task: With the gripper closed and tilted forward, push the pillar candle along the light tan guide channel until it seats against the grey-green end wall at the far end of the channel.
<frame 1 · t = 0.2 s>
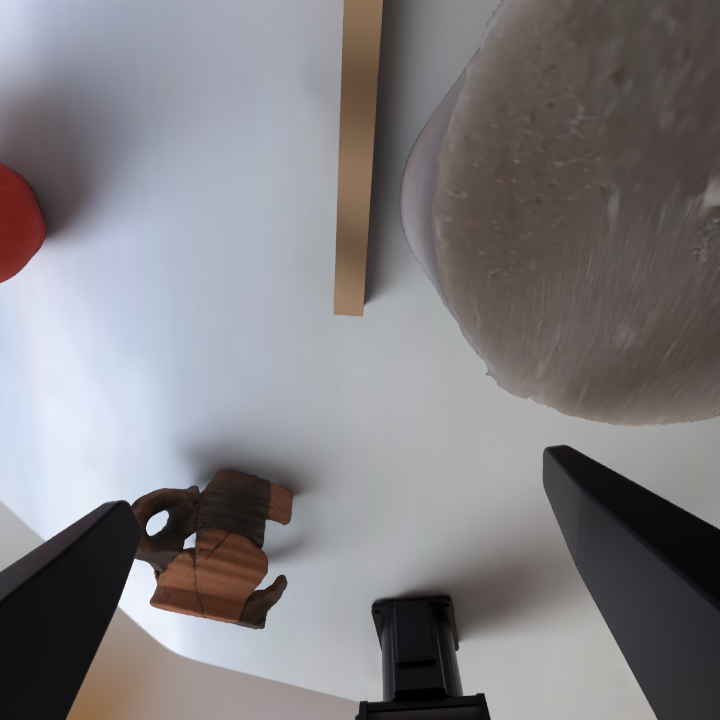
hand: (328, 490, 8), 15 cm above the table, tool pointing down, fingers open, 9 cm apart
pillar candle: (490, 196, 20), on the table
channel: (516, 49, 17), on the table
apple: (24, 206, 20), on the table
pottery mug: (230, 510, 29), on the table
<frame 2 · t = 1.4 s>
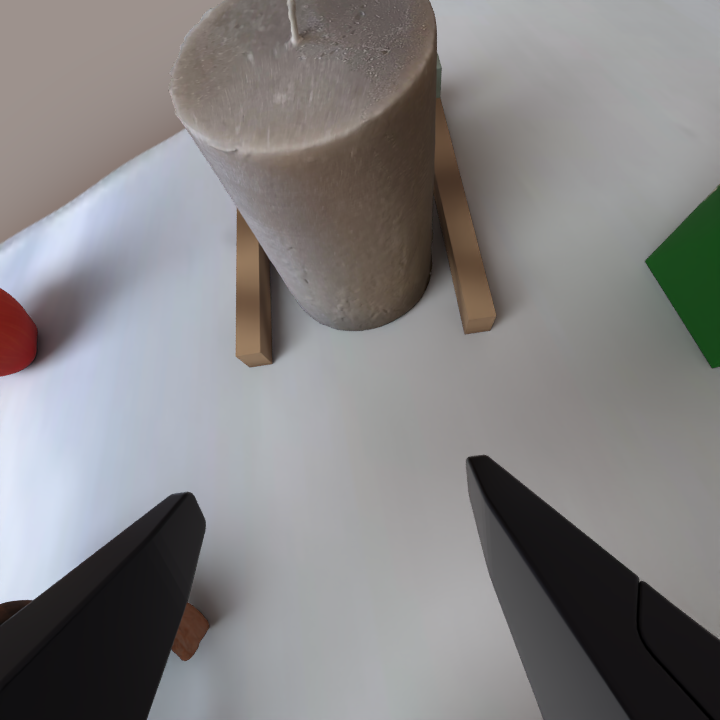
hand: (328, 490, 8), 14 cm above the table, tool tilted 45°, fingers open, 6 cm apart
pillar candle: (357, 268, 26), on the table
channel: (347, 196, 28), on the table
apple: (28, 348, 28), on the table
pottery mug: (124, 679, 20), on the table
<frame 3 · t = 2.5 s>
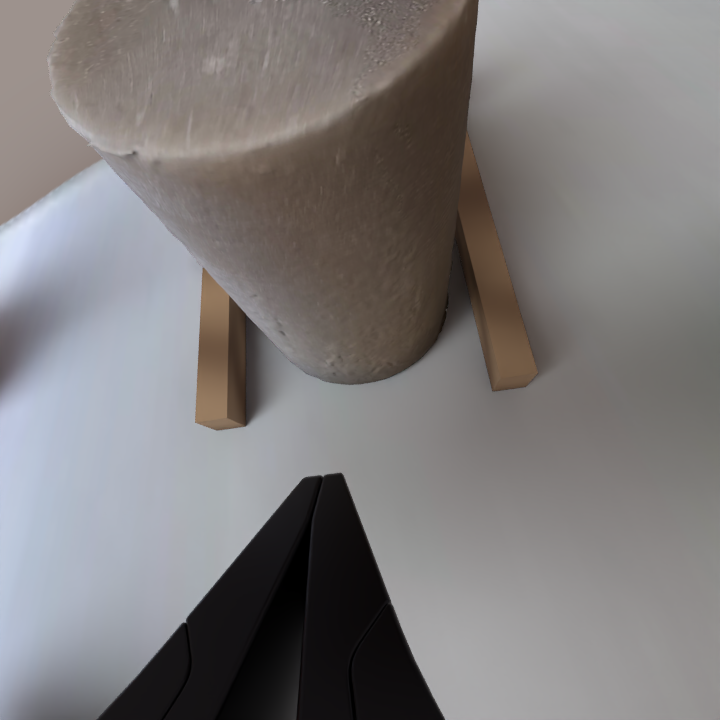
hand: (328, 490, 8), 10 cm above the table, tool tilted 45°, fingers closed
pillar candle: (354, 302, 21), on the table
channel: (342, 212, 23), on the table
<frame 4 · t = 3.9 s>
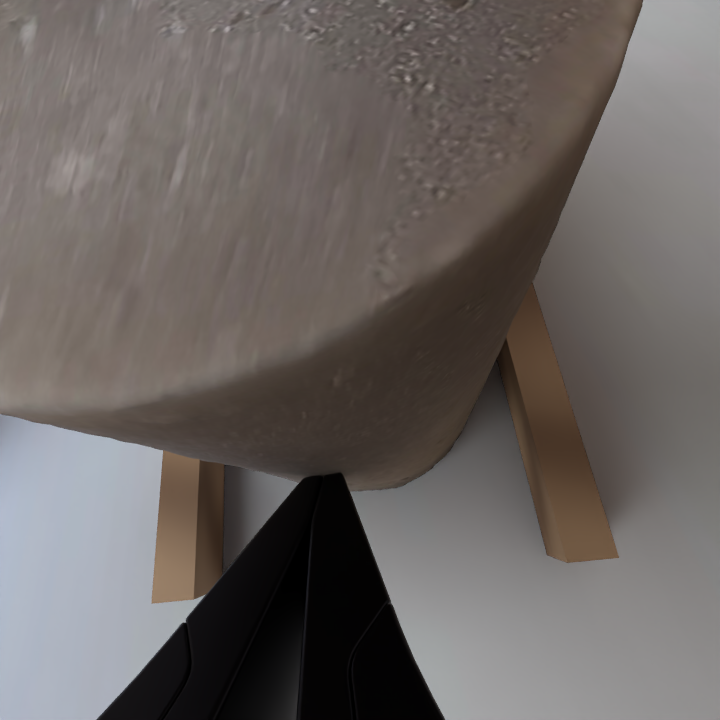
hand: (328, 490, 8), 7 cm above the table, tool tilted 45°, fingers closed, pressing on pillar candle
pillar candle: (357, 376, 17), on the table, touching gripper
channel: (346, 289, 19), on the table
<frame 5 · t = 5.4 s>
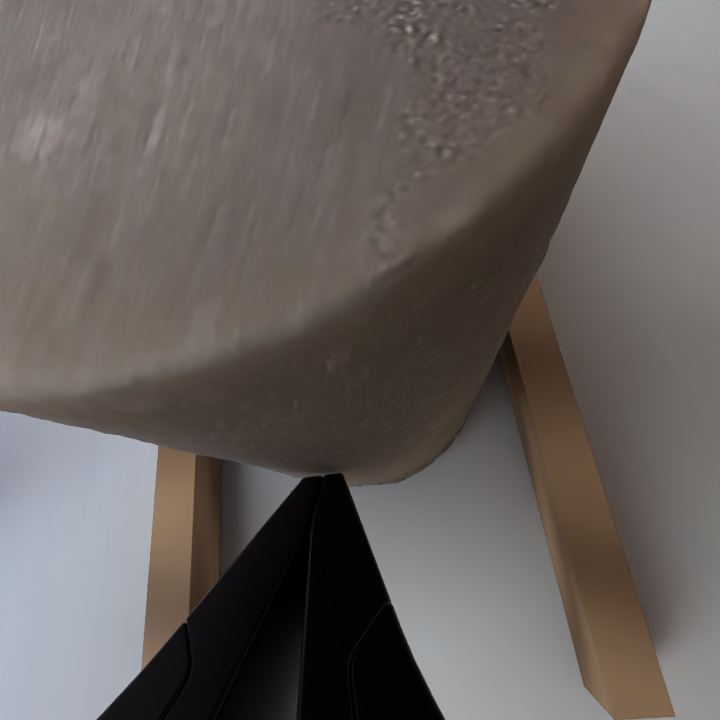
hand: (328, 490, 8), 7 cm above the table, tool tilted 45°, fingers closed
pillar candle: (356, 370, 17), on the table
channel: (354, 356, 17), on the table
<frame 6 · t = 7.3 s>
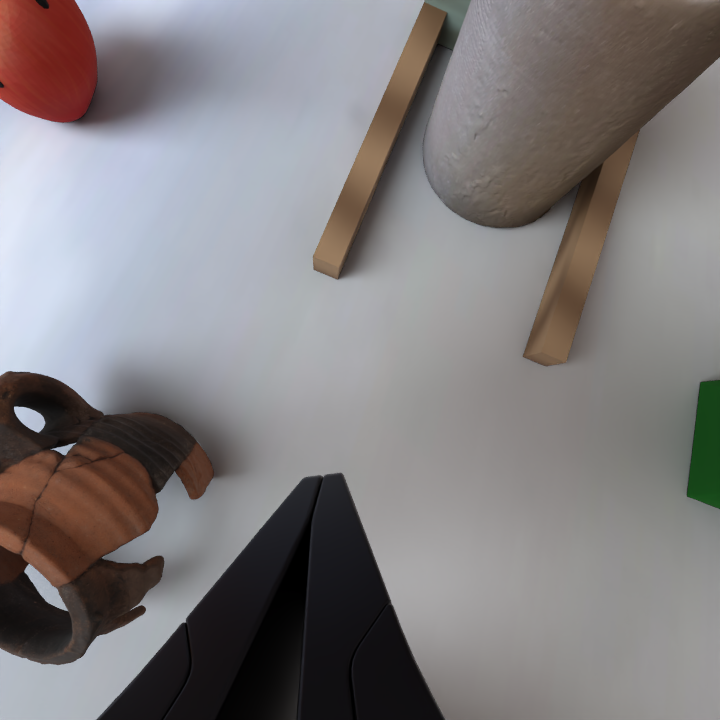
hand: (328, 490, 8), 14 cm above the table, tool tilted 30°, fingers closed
pillar candle: (491, 158, 25), on the table
channel: (495, 148, 25), on the table
apple: (76, 98, 23), on the table
pottery mug: (115, 482, 21), on the table
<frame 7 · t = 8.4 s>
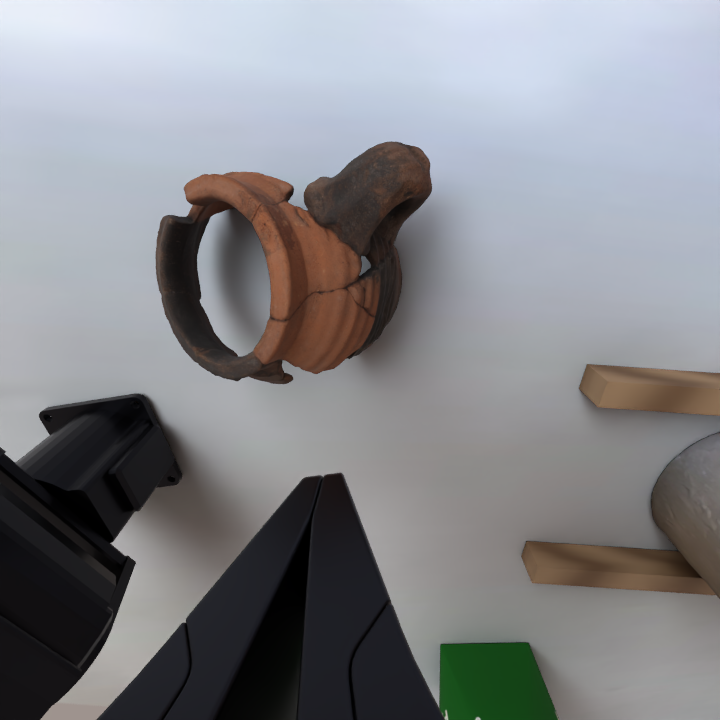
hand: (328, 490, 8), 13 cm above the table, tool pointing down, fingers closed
milk carton: (481, 664, 33), on the table
pottery mug: (318, 253, 19), on the table
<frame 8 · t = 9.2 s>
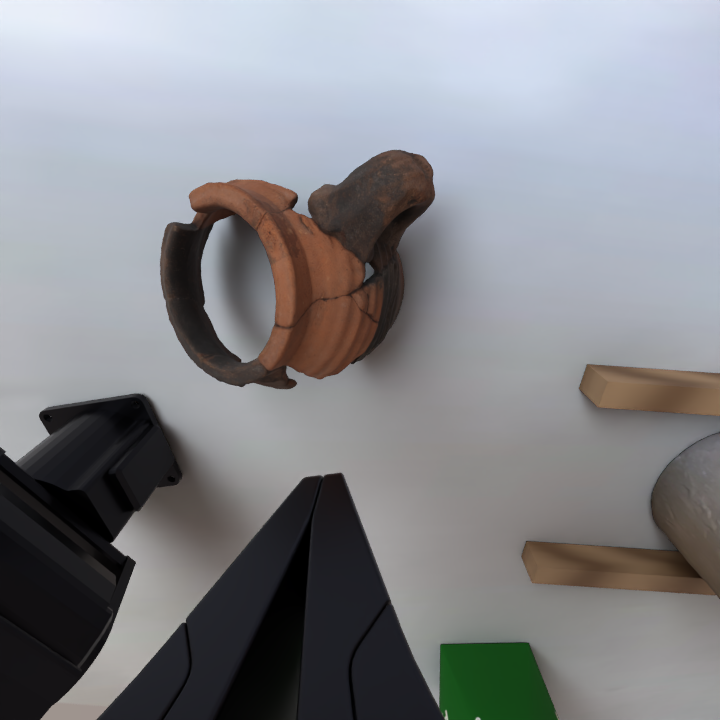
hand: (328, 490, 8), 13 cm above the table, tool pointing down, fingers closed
milk carton: (481, 664, 33), on the table
pottery mug: (321, 258, 19), on the table
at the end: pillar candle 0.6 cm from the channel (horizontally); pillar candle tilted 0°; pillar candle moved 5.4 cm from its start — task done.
